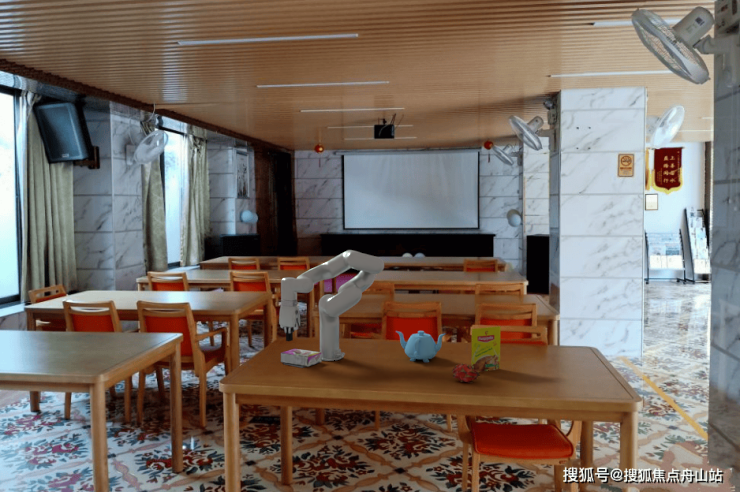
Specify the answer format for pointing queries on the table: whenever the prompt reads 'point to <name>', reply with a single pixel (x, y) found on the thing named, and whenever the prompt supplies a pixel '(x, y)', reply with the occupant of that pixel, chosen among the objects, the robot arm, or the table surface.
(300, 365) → the mat
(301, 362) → the candy bar box
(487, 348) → the food package
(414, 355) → the teapot
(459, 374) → the dragon fruit
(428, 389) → the table surface
